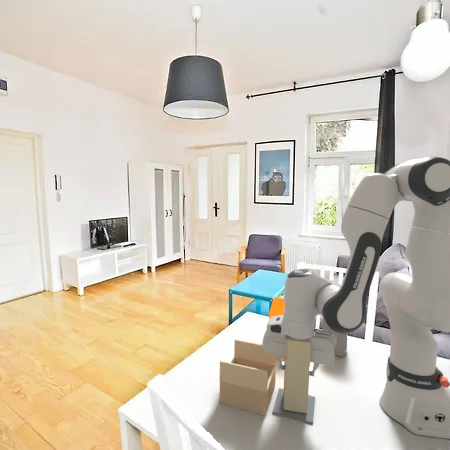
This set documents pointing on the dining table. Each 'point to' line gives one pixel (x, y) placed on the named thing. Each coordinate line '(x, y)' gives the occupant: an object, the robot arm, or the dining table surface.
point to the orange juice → (277, 307)
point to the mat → (291, 414)
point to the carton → (248, 378)
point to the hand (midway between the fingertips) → (296, 371)
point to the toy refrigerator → (296, 375)
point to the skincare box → (341, 340)
